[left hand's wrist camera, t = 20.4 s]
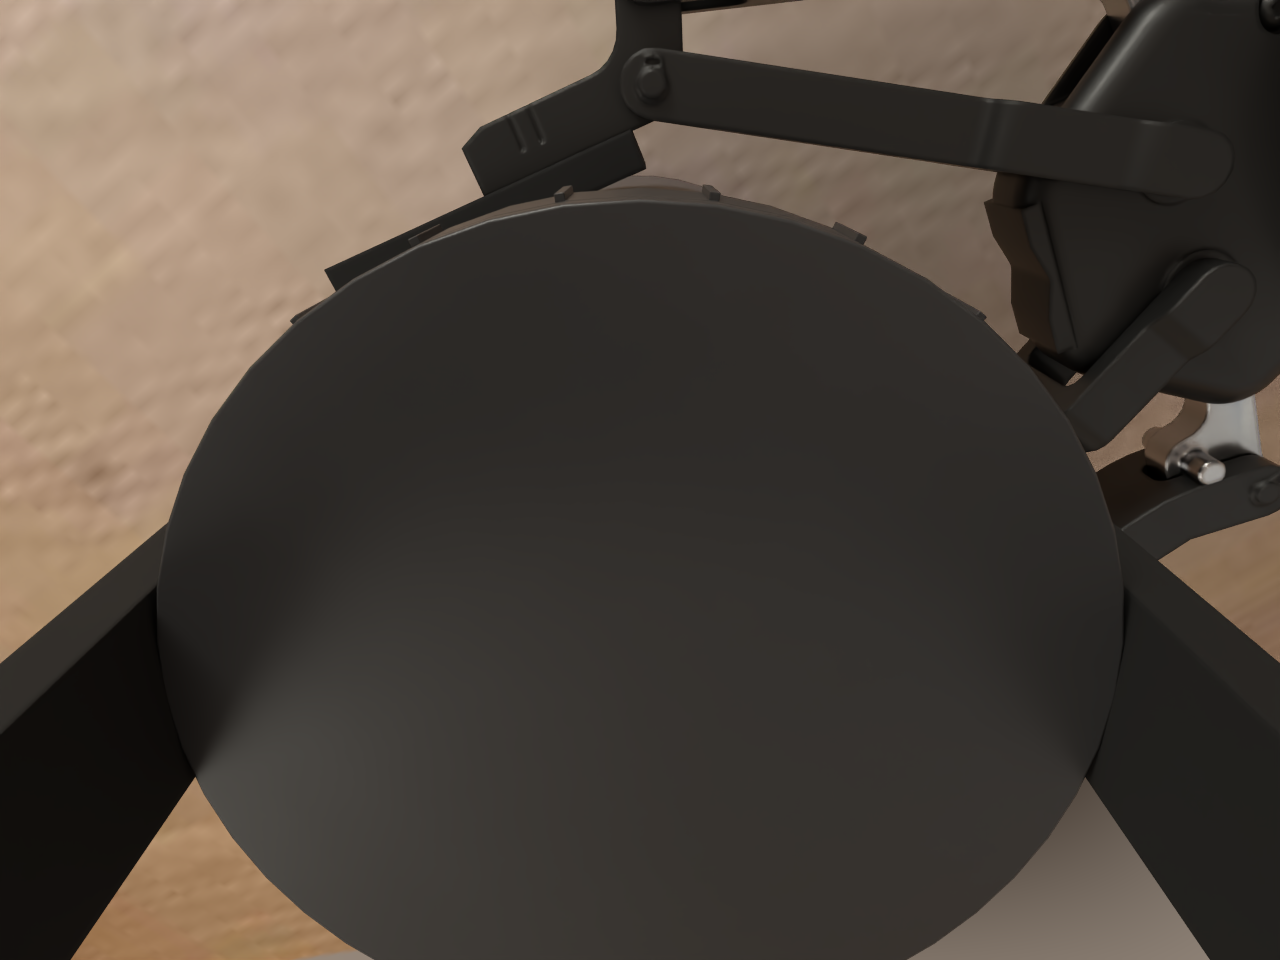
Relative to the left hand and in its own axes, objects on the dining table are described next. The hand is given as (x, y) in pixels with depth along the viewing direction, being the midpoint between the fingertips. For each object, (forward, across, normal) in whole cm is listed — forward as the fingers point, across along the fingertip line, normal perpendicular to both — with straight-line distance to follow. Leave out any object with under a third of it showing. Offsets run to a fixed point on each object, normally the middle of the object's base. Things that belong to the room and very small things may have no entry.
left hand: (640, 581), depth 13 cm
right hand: (+7, -4, -2) cm, 8 cm away
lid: (-3, 0, 0) cm, 3 cm away
